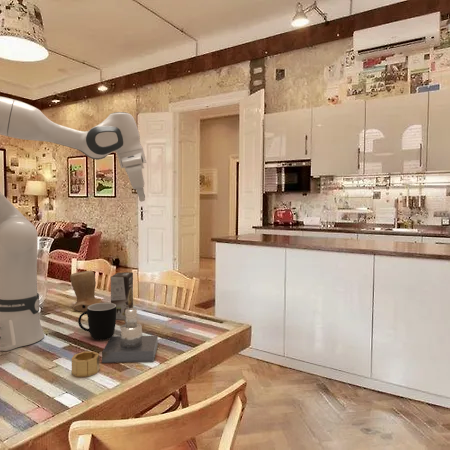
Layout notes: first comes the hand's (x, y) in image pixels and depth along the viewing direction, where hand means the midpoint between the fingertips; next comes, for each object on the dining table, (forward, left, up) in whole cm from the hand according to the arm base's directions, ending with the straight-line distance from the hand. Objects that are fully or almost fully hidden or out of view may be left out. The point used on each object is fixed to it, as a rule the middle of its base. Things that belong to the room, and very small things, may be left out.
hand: (142, 199), depth 136 cm
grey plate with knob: (0, -25, -44) cm, 51 cm away
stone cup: (-26, +23, -45) cm, 56 cm away
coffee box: (-9, +11, -45) cm, 47 cm away
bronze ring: (-10, -36, -44) cm, 58 cm away
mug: (-13, -11, -45) cm, 48 cm away
